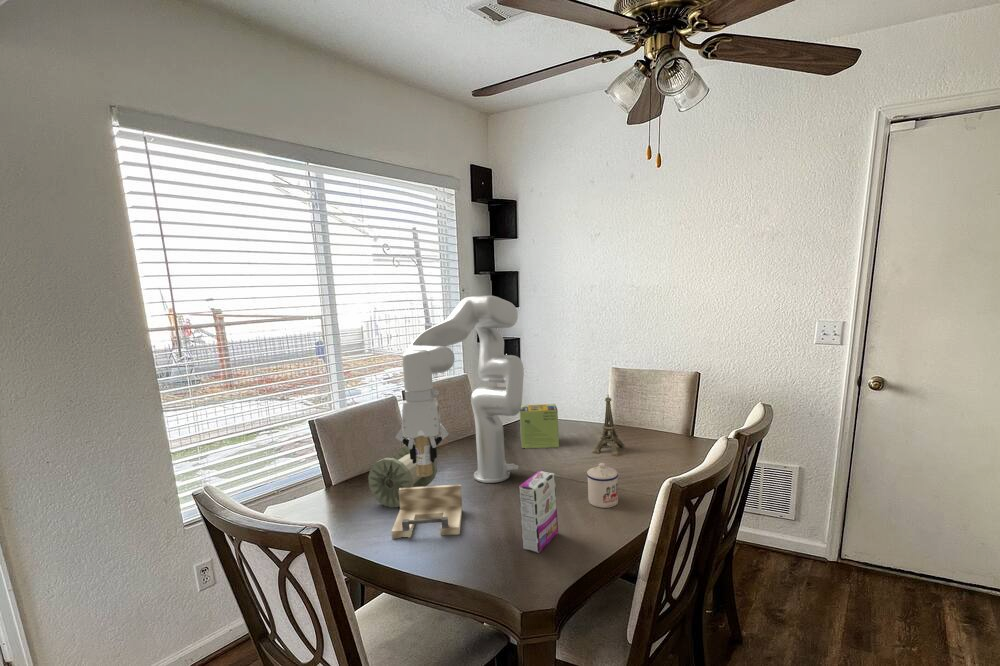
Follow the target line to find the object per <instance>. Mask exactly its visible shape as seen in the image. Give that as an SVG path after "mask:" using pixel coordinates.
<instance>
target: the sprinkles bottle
mask: <svg viewBox="0 0 1000 666" xmlns="http://www.w3.org/2000/svg"><path fill="white" fill-rule="evenodd" d="M423 435H425V434H424V433H423V431H422V430H420V431H419V432H418V438H415V441H414V443H415V454H416V467H417V473H416V474H417V476H420V477H426V476H429V475H431V474H432V473H433V471H432V462H431V453H430V448H431V441H430V438H429V437H424V436H423Z"/></svg>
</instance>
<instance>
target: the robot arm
mask: <svg viewBox="0 0 1000 666" xmlns="http://www.w3.org/2000/svg"><path fill="white" fill-rule="evenodd" d="M518 318H519V313H518V310H517V307H516V306H515V305H514V304H513V302H510V301H508V300H506V299H503V298H501V297H499V296H495V295H474V296H473V295H472V296H466V297H464V298H462V299H460V301H459V302H458V304H457V305H456V306H455V307H454V309H453V310H452V311H451V312H450V314H449V315H448V316H447V318H445V320H443V321H441V322H439V323H437V324H435V325H434V326H432V327H430V328H428V329H426V330H424V331H423V332H421V333H420V334H418V335H417V337H415V339H414V340H413V341H412V342H411V343H410V344H409V346H408V348H407V349H406V351H404V352H403V354H402V369H403V371H402V372H403V384H404V398H405V400H403V402H402V410H401V411H402V412H401V424H402V425H401V428H400V429H399V431H398V433H396V435H395V439H396V440H398V441H399V442H402V444H403V445H406V446H407V447H408V449H410V459H411V460H413V464H414V463H416V454H415V444H414V443H415V438H418V432H419V431H420V430H422V431H423V433H424V434H425V435H423V436H424V437H429V438H430V441H431V448H430V453H431V462H434V460H436V459H437V458H438V450H437V449H438V448H437V446H438V445H439V444H440V443H441V442H442V440H444V439H446V438H447V436H449V431H448V430H447V429H446V427H444V425H443V424H442V422H441V414H440V407H439V403H438V400H437V399H438V398H435V396H436V397H437V396H440V395H439V390H436V389H435V388H434V384H433V374H440V373H441V374H442V373H446V372H448V371H450V370H451V369H452V367H453V366H454V364H455V353H454V352H453V350H452V348H450V347H448V346H454V345H456V344H458V343H462V342H463V341H465V340H466V339H467V338H468V337H469V335H470V334H471V332H472V331H473V329H475V332H476V333H477V335H478V338H479V353H478V364H477V365H478V366H477V367H478V368H477V374H478V378H479V380H480V381H483V382H486V383H498V384H505V386H494V385H493V386H491V385H484V386H478V387H477V388H474V390H473V391H472V393H471V396H470V403H471V404H470V405H471V409H472V413H473V417H474V423H475V425H474V426H475V438H476V439H475V441H476V443H475V444H476V456H477V457H476V459H477V470H476V471H474V473H473V479H475V481H478V482H479V483H485V484H496V483H500V482H503V481H506V480H508V479H509V478H510V476H511V472H518V471H519V465H518V464H517V465H516V464H515V463H508V462H507V460H506V457H505V455H506V454H505V439H504V437H505V436H504V434H505V433H504V425H503V422H502V419H501V417H500V416H503V417H514V416H517V415H518V414H520V409H521V406H522V403H523V393H524V392H523V390H524V373H525V372H524V369H525V368H524V363H523V361H522V360H521V358H520V357H519V356H517V355H513V354H512V355H511V354H505V340H504V337H503V336H502V334H501V332H500V331H499V330H498V329H510V328H512V327H513V326H515V325H516V324H517V323H518V322H517V321H518Z"/></svg>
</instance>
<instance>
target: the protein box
mask: <svg viewBox="0 0 1000 666" xmlns="http://www.w3.org/2000/svg"><path fill="white" fill-rule="evenodd" d="M519 426H520V432H519V433H520V445H521V449H522V448H525V449H547V448H549V449H550V448H560V438H559V435H560V434H559V413H558V408H557V405H556V404H555V403H549V404H546V403H545V404H529V405H528V404H527V405H526V404H525V405H521V409H520V411H519Z"/></svg>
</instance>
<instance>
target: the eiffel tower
mask: <svg viewBox="0 0 1000 666" xmlns="http://www.w3.org/2000/svg"><path fill="white" fill-rule="evenodd" d="M604 402H606V403H605V416H604V425H602V429H603V431H602V435H601V437H600V440H599V442H598V443H597V445H596V446H595V448H594V450H593V451H592V452H591V454H597V455H600V454H601V453H602V449H603V448H606V449H607V448H608V447H609V445H611V451H612V453H611V456H612V457H615V458H616V457H618V458H619V457H620V456H621V455H622V454H621V453H620V451H626V450H628V447H626V446H625V444H624V443H623V442H622V440H621V439H620V438H619V435H617V432H616V427H617V426H616V424H614V419H613V418H614V417H613V412H612V404H611V402H612V397H609V395H607V397H605V399H604ZM617 447H618V448H617Z"/></svg>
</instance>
